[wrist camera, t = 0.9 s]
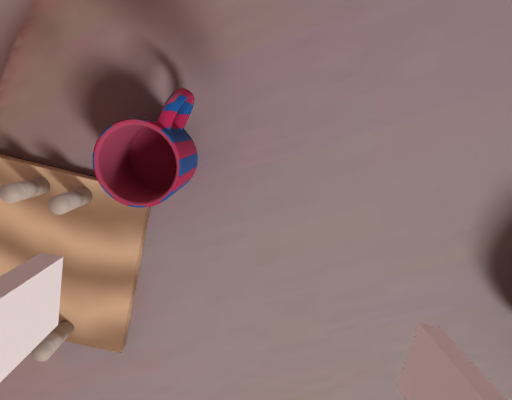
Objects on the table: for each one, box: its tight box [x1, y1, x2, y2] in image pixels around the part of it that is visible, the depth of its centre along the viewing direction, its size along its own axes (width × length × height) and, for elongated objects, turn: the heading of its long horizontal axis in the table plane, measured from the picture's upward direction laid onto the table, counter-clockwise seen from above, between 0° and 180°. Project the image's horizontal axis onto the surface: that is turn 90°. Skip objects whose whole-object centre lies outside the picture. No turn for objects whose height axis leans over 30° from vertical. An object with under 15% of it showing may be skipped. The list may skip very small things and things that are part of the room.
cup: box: [93, 88, 197, 208], centre depth 26 cm, size 7×10×7 cm
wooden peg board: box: [0, 154, 150, 361], centre depth 30 cm, size 18×16×5 cm
